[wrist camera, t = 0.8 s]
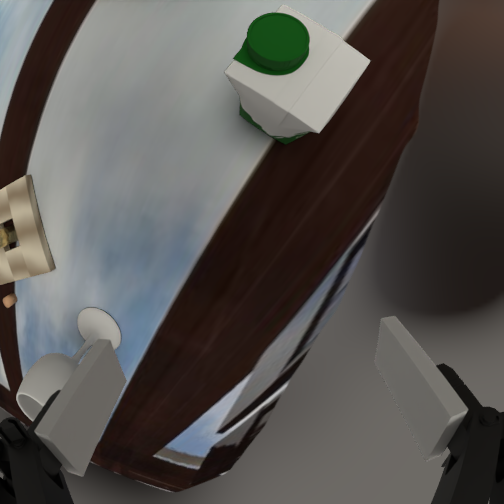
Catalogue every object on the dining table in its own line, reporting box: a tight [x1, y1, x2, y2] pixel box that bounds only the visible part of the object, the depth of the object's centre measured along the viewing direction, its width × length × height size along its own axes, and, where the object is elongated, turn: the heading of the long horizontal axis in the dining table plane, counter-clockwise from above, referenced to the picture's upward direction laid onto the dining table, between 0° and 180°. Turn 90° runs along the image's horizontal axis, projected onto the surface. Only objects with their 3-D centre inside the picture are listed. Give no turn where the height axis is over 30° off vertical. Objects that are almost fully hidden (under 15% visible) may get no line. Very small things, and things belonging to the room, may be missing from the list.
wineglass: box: [17, 308, 121, 421], centre depth 33 cm, size 9×9×21 cm
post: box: [0, 225, 18, 248], centre depth 34 cm, size 3×3×8 cm
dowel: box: [3, 293, 17, 308], centre depth 40 cm, size 2×2×3 cm
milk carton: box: [224, 5, 370, 145], centre depth 24 cm, size 9×9×20 cm
